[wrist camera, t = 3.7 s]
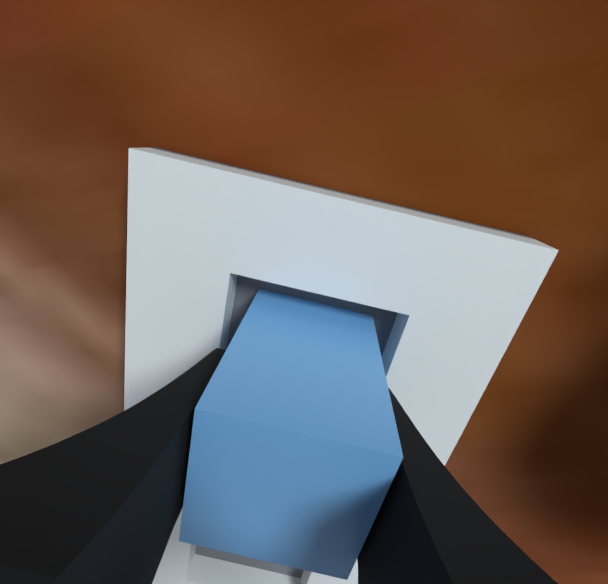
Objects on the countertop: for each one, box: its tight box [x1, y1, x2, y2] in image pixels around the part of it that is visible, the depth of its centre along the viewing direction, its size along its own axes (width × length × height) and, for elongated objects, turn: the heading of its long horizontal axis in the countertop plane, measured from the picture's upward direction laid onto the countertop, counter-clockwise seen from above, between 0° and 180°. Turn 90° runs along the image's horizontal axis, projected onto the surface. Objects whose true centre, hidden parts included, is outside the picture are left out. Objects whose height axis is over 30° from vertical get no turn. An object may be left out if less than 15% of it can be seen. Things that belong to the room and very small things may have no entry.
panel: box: [124, 148, 559, 584], centre depth 15 cm, size 22×12×2 cm, turn 168°
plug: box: [179, 289, 403, 580], centre depth 10 cm, size 4×4×6 cm
